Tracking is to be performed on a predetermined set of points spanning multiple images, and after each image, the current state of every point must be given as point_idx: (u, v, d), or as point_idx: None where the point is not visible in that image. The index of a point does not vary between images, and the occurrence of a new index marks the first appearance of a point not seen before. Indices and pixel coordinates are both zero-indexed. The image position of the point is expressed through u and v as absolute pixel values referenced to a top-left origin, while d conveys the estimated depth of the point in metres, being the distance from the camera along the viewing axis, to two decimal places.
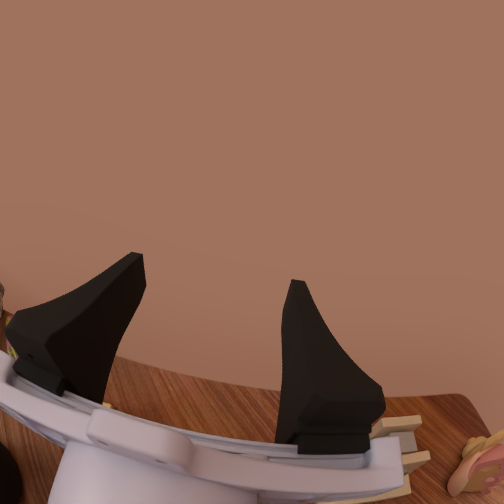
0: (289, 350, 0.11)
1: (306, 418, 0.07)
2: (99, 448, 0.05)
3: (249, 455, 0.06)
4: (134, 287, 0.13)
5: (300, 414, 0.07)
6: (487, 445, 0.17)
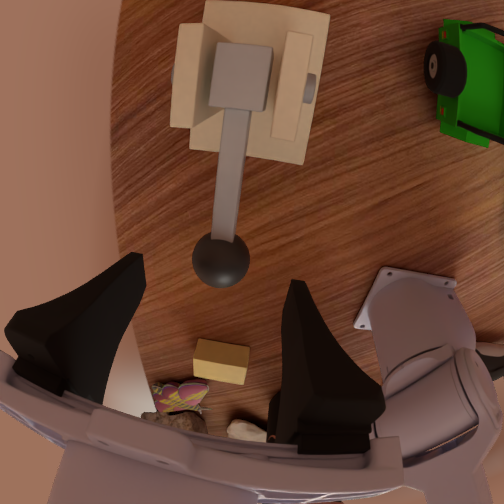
0: (289, 350, 0.11)
1: (306, 418, 0.07)
2: (99, 448, 0.05)
3: (249, 455, 0.06)
4: (134, 287, 0.13)
5: (300, 414, 0.07)
6: None
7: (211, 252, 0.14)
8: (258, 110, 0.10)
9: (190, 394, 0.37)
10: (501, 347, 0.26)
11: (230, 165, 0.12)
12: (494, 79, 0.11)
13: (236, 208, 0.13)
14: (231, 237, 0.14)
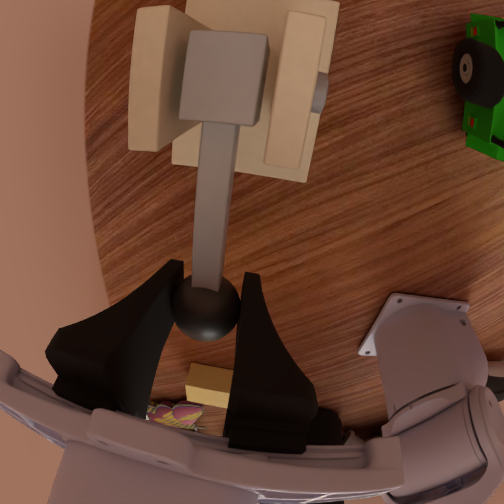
0: (237, 343, 0.11)
1: (233, 410, 0.07)
2: (99, 448, 0.05)
3: (249, 455, 0.06)
4: None
5: (228, 406, 0.07)
6: None
7: (192, 304, 0.11)
8: (247, 124, 0.07)
9: (184, 414, 0.34)
10: None
11: (211, 198, 0.09)
12: None
13: (221, 251, 0.10)
14: (216, 285, 0.11)
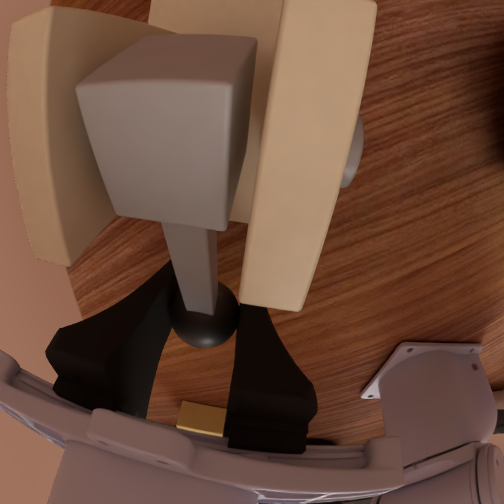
0: (237, 343, 0.11)
1: (232, 410, 0.07)
2: (99, 448, 0.05)
3: (249, 455, 0.06)
4: None
5: (227, 406, 0.07)
6: None
7: (188, 328, 0.11)
8: (216, 229, 0.05)
9: None
10: None
11: (190, 263, 0.08)
12: None
13: (211, 294, 0.09)
14: (211, 312, 0.11)
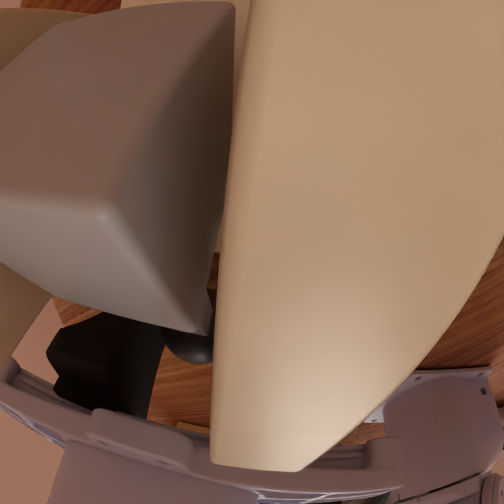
0: None
1: None
2: (99, 448, 0.05)
3: None
4: None
5: None
6: None
7: (180, 348, 0.10)
8: (182, 330, 0.03)
9: None
10: None
11: None
12: None
13: (201, 325, 0.08)
14: (204, 334, 0.09)
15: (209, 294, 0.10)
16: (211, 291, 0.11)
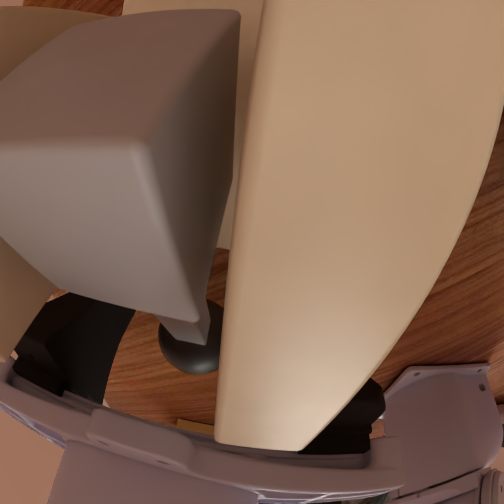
0: None
1: None
2: (99, 448, 0.05)
3: (249, 455, 0.06)
4: None
5: None
6: None
7: (178, 358, 0.09)
8: (185, 320, 0.03)
9: None
10: None
11: None
12: None
13: (200, 332, 0.08)
14: (202, 343, 0.09)
15: (207, 304, 0.10)
16: (209, 301, 0.11)
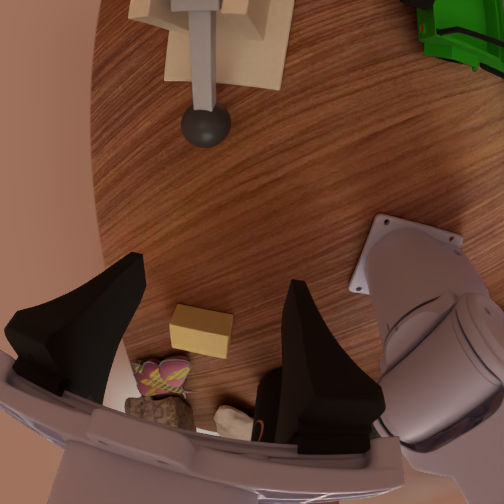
0: (289, 350, 0.11)
1: (306, 418, 0.07)
2: (99, 448, 0.05)
3: (249, 455, 0.06)
4: (134, 287, 0.13)
5: (300, 414, 0.07)
6: None
7: (194, 121, 0.15)
8: (214, 10, 0.09)
9: (171, 372, 0.34)
10: None
11: (200, 52, 0.11)
12: (473, 3, 0.08)
13: (211, 84, 0.13)
14: (210, 107, 0.14)
15: None
16: None
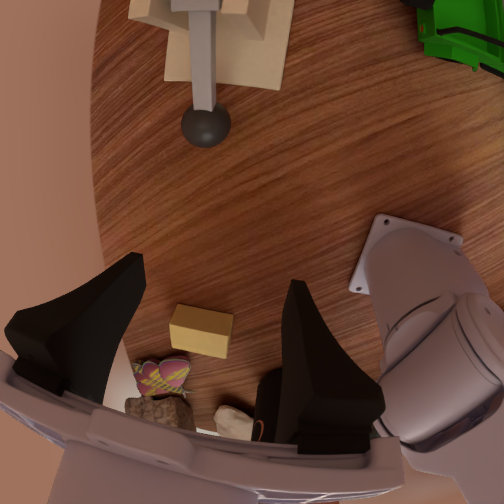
0: (289, 350, 0.11)
1: (306, 418, 0.07)
2: (99, 448, 0.05)
3: (249, 455, 0.06)
4: (134, 287, 0.13)
5: (300, 414, 0.07)
6: None
7: (194, 121, 0.15)
8: (214, 10, 0.09)
9: (171, 372, 0.34)
10: None
11: (200, 52, 0.11)
12: (473, 3, 0.08)
13: (211, 84, 0.13)
14: (210, 107, 0.14)
15: None
16: None
